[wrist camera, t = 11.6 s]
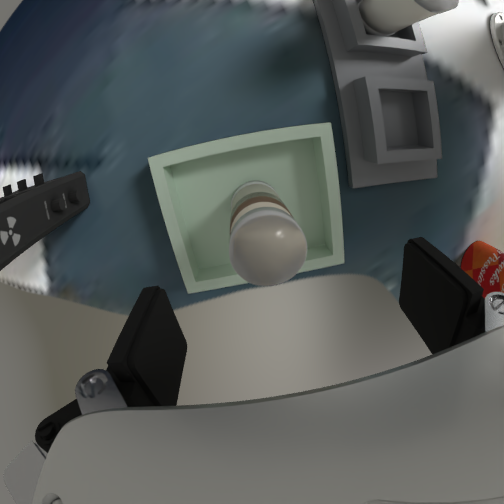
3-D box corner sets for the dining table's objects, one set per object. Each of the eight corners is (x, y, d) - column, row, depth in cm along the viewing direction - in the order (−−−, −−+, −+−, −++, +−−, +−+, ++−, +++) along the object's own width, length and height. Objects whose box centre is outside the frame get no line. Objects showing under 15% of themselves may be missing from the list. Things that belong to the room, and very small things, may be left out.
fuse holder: (393, -16, 15) (409, -27, 12) (431, 175, 24) (452, 183, 21) (303, -27, 15) (312, -44, 12) (348, 186, 24) (364, 195, 21)
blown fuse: (274, 176, 23) (302, 207, 14) (282, 221, 25) (310, 278, 15) (226, 185, 23) (221, 223, 14) (236, 230, 25) (238, 292, 16)
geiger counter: (90, 159, 21) (-32, 203, 8) (98, 205, 23) (-6, 285, 10) (18, 181, 21) (-84, 231, 8) (26, 220, 23) (-66, 287, 9)
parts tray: (319, 123, 22) (330, 122, 19) (334, 249, 27) (344, 263, 24) (157, 154, 22) (147, 158, 19) (192, 277, 27) (188, 293, 24)
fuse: (385, 5, 16) (446, -30, 6) (396, 40, 17) (465, 15, 8) (347, 0, 16) (400, -47, 7) (358, 36, 17) (421, 0, 8)
